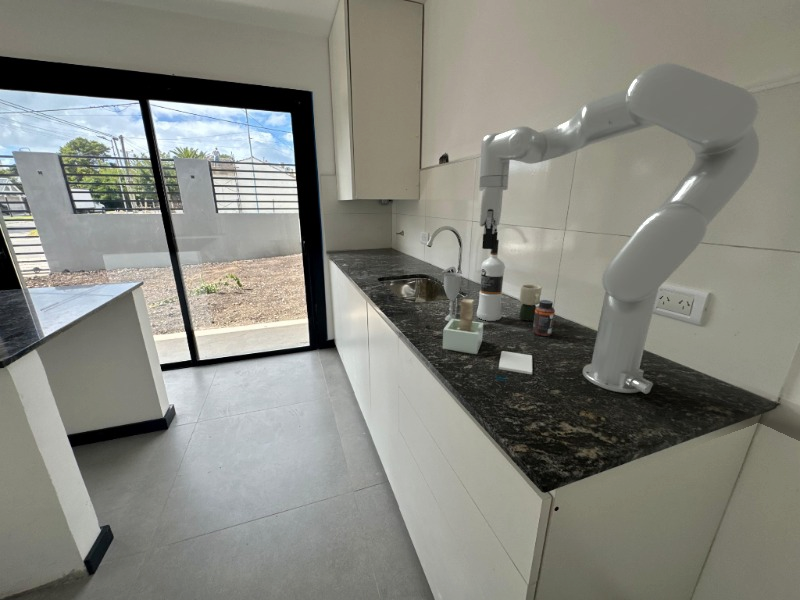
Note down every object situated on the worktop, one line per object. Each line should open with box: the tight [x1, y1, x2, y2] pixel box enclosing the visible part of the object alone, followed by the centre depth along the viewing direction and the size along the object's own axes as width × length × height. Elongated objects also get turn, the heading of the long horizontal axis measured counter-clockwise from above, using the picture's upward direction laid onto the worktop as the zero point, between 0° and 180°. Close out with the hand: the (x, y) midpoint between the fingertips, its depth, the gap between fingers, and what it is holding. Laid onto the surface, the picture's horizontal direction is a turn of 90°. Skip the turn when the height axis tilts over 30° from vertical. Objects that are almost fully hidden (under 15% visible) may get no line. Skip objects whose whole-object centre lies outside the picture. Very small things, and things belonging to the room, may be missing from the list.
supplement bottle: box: [532, 299, 556, 337], centre depth 105 cm, size 6×6×11 cm
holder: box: [442, 318, 484, 355], centre depth 95 cm, size 10×10×7 cm
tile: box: [498, 350, 533, 375], centre depth 84 cm, size 8×2×10 cm
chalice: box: [442, 272, 463, 322], centre depth 115 cm, size 7×7×18 cm
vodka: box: [476, 239, 506, 322], centre depth 118 cm, size 9×9×30 cm
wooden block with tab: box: [457, 298, 474, 332], centre depth 93 cm, size 5×3×14 cm, turn 66°
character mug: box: [518, 284, 542, 321], centre depth 118 cm, size 11×7×13 cm, turn 8°
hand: (489, 247), depth 91 cm, fingers open, 9 cm apart
